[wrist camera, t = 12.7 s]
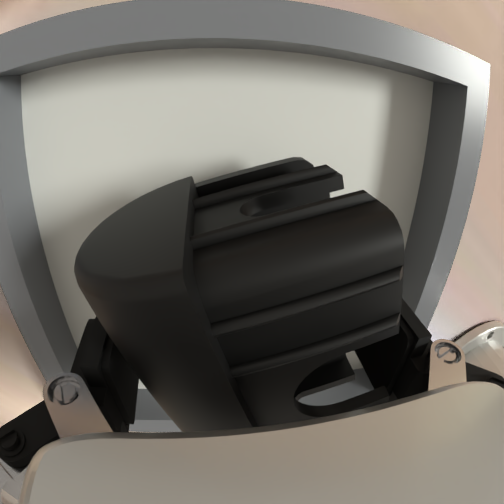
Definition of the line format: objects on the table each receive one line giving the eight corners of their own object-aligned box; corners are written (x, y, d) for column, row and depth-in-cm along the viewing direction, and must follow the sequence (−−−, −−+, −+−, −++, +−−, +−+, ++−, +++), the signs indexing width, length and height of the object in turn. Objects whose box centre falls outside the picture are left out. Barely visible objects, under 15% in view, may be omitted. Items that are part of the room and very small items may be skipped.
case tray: (374, 371, 22) (389, 401, 19) (83, 392, 18) (76, 427, 16) (448, 61, 12) (490, 64, 9) (2, 52, 8) (-36, 50, 6)
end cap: (111, 196, 11) (29, 320, 5) (305, 139, 11) (424, 209, 5) (199, 377, 15) (207, 499, 10) (333, 340, 16) (385, 452, 10)
